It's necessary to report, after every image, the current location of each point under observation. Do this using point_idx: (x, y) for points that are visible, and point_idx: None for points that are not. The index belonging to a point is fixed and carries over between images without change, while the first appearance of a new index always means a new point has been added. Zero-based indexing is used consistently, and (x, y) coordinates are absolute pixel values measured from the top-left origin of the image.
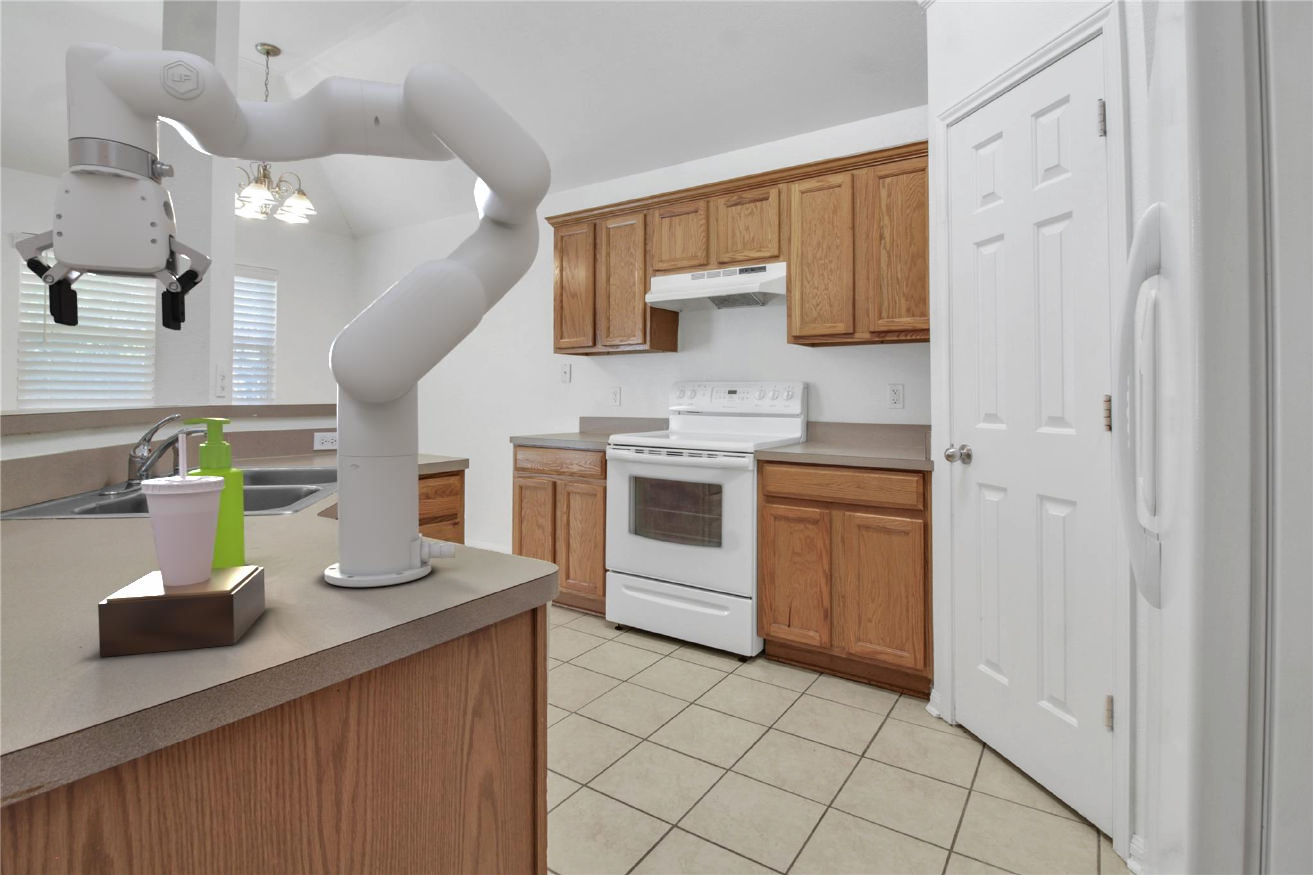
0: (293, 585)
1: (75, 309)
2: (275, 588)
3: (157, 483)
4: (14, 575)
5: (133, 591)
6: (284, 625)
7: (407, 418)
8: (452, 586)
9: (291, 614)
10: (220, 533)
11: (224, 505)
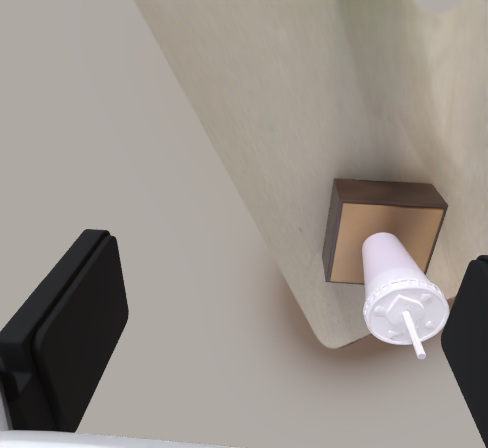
0: (467, 84)
1: (90, 287)
2: (445, 93)
3: (385, 341)
4: None
5: (344, 268)
6: (447, 230)
7: None
8: None
9: (455, 202)
10: None
11: None
